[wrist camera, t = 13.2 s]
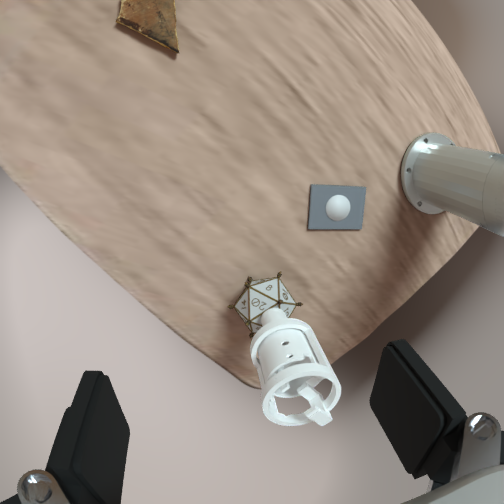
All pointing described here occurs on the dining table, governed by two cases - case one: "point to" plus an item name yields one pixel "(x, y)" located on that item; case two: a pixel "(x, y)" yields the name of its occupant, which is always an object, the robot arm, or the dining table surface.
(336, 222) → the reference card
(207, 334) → the dining table surface
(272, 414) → the white cylindrical housing
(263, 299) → the game die
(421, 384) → the robot arm
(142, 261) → the dining table surface
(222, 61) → the dining table surface
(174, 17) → the shard
